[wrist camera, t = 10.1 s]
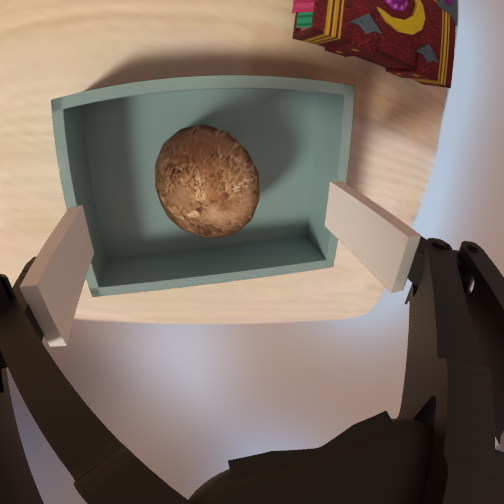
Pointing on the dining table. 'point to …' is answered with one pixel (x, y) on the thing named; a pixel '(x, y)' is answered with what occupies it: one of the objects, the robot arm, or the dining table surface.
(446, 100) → the dining table surface
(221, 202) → the mushroom
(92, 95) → the open rectangular box
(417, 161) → the dining table surface
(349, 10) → the decorative book
